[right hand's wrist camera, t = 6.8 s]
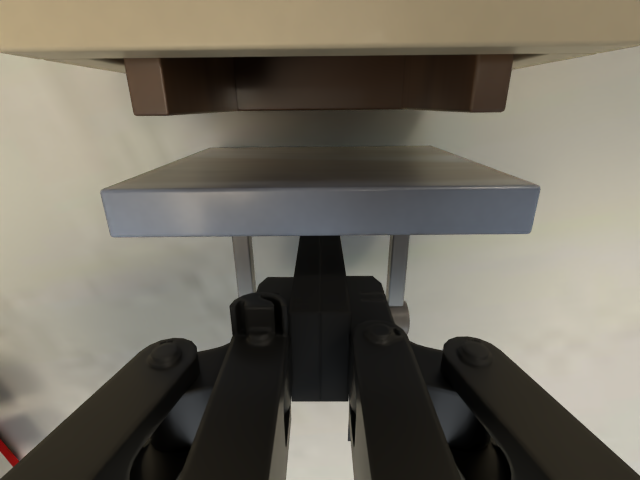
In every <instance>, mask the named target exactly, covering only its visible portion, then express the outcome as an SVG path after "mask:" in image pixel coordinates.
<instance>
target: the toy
mask: <svg viewBox="0 0 640 480" xmlns="http://www.w3.org/2000/svg"><path fill="white" fill-rule="evenodd" d="M18 462H19V460H18V459H17V458H16V457H15V456H14V454H13V453H12V452H11V451H10V450H9V449H8V447H7V446H6V445H5V444H4V443H3V442H2V441H1V439H0V479H1V478H2V477H3V476H4V475H5V474H6V473H7V472H8V471H9V470H10V469H12V468H13V467H14V466H15V465H16V464H17V463H18Z"/></svg>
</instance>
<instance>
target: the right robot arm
mask: <svg viewBox="0 0 640 480" xmlns="http://www.w3.org/2000/svg"><path fill="white" fill-rule="evenodd" d="M230 315H231V325H232V334H233V336H232V339H231V342H230V343H228V344H226V345H224V346H221V347H218V348H214V349H210V350H205V351H200V352H197V347H196V345H195V344H194V343H193V342H192V341H190V340H187V339H184V338H171V339H165V340H161V341H158V342H156V343H154V344H151V345H149V346H148V347H146V348H145V349H143V350H142V351H140V352H139V353H138V354H137V355H136V356H135V357H134V358H133V359H132V360H130V361H129V362H128V363H127V364H126V365H125V366H124V367H123V368H122V369H121V370H119V371H118V372H117V373H116V374H115V375H114V376H113V377H112V378H111V379H110V380H108V381H107V382H106V383H105V384H104V385H103V386H102V387H101V388H100V389H98V390H97V391H96V392H95V393H94V394H93V395H92V396H91V397H90V398H89V399H87V400H86V401H85V402H84V403H83V404H82V405H81V406H80V407H79V408H78V409H76V410H75V411H74V412H73V413H72V414H71V415H70V416H69V417H68V418H67V419H65V420H64V421H63V422H62V423H61V424H60V425H59V426H58V427H57V428H56V429H54V430H53V431H52V432H51V433H50V434H49V435H48V436H47V437H46V438H45V439H43V440H42V441H41V442H40V443H39V444H38V445H37V446H36V447H35V448H34V449H32V450H31V451H30V452H29V453H28V454H27V455H26V456H25V457H24V458H23V459H21V460H20V461H19V462H18V463H17V464H16V465H15V466H14V467H13V468H12V469H10V470H9V471H8V472H7V473H6V474H5V475H4V476H3V477H2V478H1V479H0V480H286V472H287V460H288V449H289V438H290V427H291V396H292V401H348V398H349V426H348V441H351V449H352V460H353V471H354V480H640V476H639V475H638V474H637V473H636V472H635V471H634V470H633V469H632V468H631V467H630V466H628V465H627V464H626V463H625V462H624V461H623V460H622V459H621V458H620V457H618V456H617V455H616V454H615V453H614V452H613V451H612V450H611V449H610V448H608V447H607V446H606V445H605V444H604V443H603V442H602V441H601V440H600V439H598V438H597V437H596V436H595V435H594V434H593V433H592V432H591V431H590V430H588V429H587V428H586V427H585V426H584V425H583V424H582V423H581V422H580V421H578V420H577V419H576V418H575V417H574V416H573V415H572V414H571V413H570V412H568V411H567V410H566V409H565V408H564V407H563V406H562V405H561V404H560V403H558V402H557V401H556V400H555V399H554V398H553V397H552V396H551V395H550V394H549V393H547V392H546V391H545V390H544V389H543V388H542V387H541V386H540V385H539V384H537V383H536V382H535V381H534V380H533V379H532V378H531V377H530V376H529V375H527V374H526V373H525V372H524V371H523V370H522V369H521V368H520V367H519V366H517V365H516V364H515V363H514V362H513V361H512V360H511V359H510V358H509V357H507V356H506V355H505V354H504V353H503V352H502V351H501V350H499V349H498V348H497V347H495V346H494V345H492V344H491V343H488V342H486V341H483V340H481V339H478V338H473V337H455V338H452V339H449V340H448V341H447V342H446V343H445V344H444V347H443V351H442V350H438V349H433V348H428V347H424V346H421V345H417V344H415V343H413V342H411V341H409V339H408V336H407V334H406V333H405V331H404V330H403V329H402V328H400V327H399V326H397V325H396V324H395V322H394V319H393V316H392V313H391V310H390V307H389V305H388V302H387V299H386V296H385V294H384V290H383V287H382V284H381V283H380V282H379V281H378V280H377V279H375V278H374V277H373V276H346V272H345V265H344V259H343V252H342V246H341V239H340V235H335V236H300V240H299V246H298V253H297V260H296V266H295V273H294V277H267V278H266V279H265V280H264V281H263V282H261V283H260V284H259V286H258V289H257V292H255V293H249V294H246V295H243V296H241V297H239V298H237V299H236V300H234V301H233V302H232V304H231V305H230Z"/></svg>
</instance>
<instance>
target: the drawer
mask: <svg viewBox="0 0 640 480" xmlns="http://www.w3.org/2000/svg"><path fill="white" fill-rule="evenodd" d="M123 59H124V65H125V70H126V75H127V81H128V86H129V91H130V97H131V102H132V107H133V112H134V115H136V116H170V115H185V114H200V113H214V112H229V111H282V110H381V109H408V110H428V111H449V112H470V113H478V112H503V111H504V110H505V106H506V100H507V94H508V88H509V82H510V77H511V71H512V65H513V59H514V54H461V55H368V56H276V57H184V58H123ZM539 193H540V186H539V185H536V184H534V183H531V182H528V181H525V180H523V179H520V178H517V177H514V176H512V175H509V174H506V173H504V172H501V171H498V170H495V169H493V168H490V167H487V166H484V165H482V164H479V163H476V162H474V161H471V160H468V159H465V158H463V157H460V156H457V155H454V154H452V153H449V152H446V151H444V150H441V149H438V148H435V147H433V146H349V147H245V148H208V149H206V150H203V151H200V152H198V153H195V154H193V155H190V156H187V157H185V158H182V159H180V160H177V161H174V162H172V163H169V164H167V165H164V166H161V167H159V168H156V169H154V170H151V171H148V172H146V173H143V174H141V175H138V176H135V177H133V178H130V179H128V180H125V181H122V182H120V183H117V184H115V185H112V186H109V187H107V188H104V189H102V190H101V198H102V202H103V206H104V210H105V214H106V219H107V223H108V227H109V231H110V235H111V236H112V237H216V236H232V240H233V249H234V259H235V268H236V277H237V287H238V296H239V297H241V296H243V295H246V294H249V293H255V292H256V284H255V272H254V260H253V248H252V237H251V236H335V235H390V244H389V259H388V274H387V289H386V299H387V302H388V305H389V307H390V310H391V313H392V316H393V319H394V322H395V324H396V325H397V326H399V327H400V328H402V329H403V330H404V331H405V333H406V334H408V331H409V310H408V306H407V303H406V302H405V301H404V291H405V280H406V269H407V257H408V246H409V235H453V234H529V233H530V232H531V230H532V225H533V221H534V216H535V211H536V207H537V202H538V198H539Z"/></svg>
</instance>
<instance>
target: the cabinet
mask: <svg viewBox="0 0 640 480" xmlns="http://www.w3.org/2000/svg"><path fill="white" fill-rule="evenodd" d="M639 45H640V0H0V53H5V54H11V55H17V56H23V57H29V58H35V59H44V60H47V61H53V62H59V63H66V64H72V65H78V66H84V67H90V68H96V69H102V70H108V71H114V72H120V73H126V70H125V65H124V59H123V58H184V57H276V56H368V55H461V54H514V59H513V65H512V70H513V69H518V68H523V67H529V66H534V65H540V64H545V63H550V62H556V61H561V60H566V59H572V58H577V57H582V56H588V55H593V54H597V53H603V52H608V51H614V50H619V49H624V48H630V47H635V46H639Z"/></svg>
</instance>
